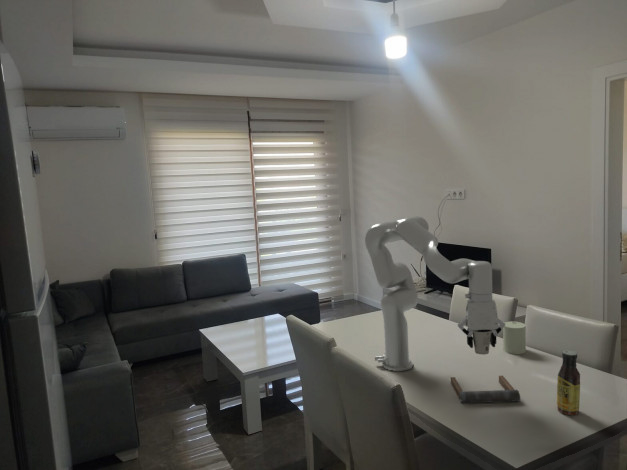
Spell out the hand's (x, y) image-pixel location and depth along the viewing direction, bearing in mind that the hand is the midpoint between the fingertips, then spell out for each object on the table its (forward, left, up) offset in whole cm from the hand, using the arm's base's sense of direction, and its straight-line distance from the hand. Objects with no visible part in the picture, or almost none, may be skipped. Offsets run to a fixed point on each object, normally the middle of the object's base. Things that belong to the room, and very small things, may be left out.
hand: (481, 345), depth 155 cm
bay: (0, -1, -17) cm, 17 cm away
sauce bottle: (+22, -15, -17) cm, 32 cm away
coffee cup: (0, 0, -2) cm, 2 cm away
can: (+25, +37, -17) cm, 48 cm away
